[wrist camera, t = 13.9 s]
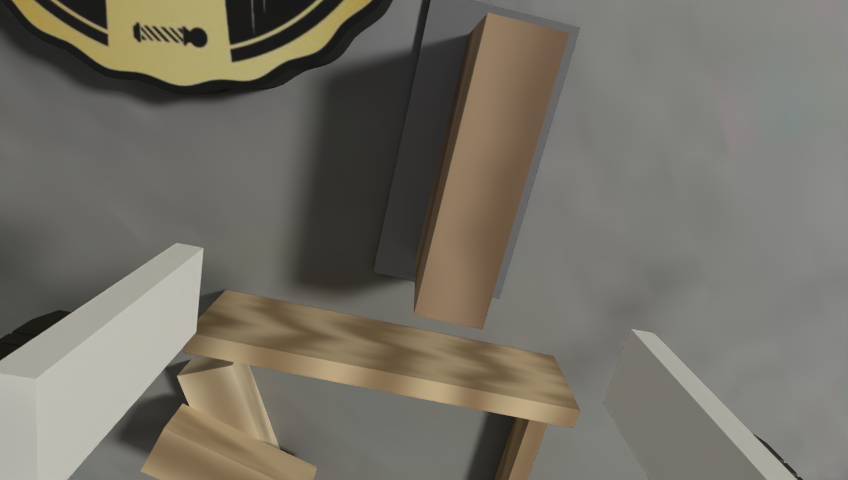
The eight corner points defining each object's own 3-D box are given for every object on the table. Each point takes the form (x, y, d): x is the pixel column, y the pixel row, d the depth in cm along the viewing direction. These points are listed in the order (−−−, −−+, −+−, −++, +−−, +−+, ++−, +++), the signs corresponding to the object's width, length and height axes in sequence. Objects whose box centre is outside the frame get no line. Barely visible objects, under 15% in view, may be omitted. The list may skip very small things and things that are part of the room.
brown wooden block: (416, 256, 37) (413, 315, 28) (468, 33, 32) (487, 12, 23) (467, 267, 37) (482, 329, 28) (526, 48, 33) (569, 32, 23)
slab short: (292, 504, 42) (283, 534, 39) (160, 443, 40) (140, 471, 37) (316, 467, 41) (309, 495, 38) (182, 403, 39) (163, 428, 36)
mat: (373, 269, 38) (373, 272, 38) (432, -8, 32) (432, -10, 32) (497, 295, 39) (499, 298, 38) (577, 28, 33) (580, 27, 32)
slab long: (253, 503, 46) (242, 531, 43) (194, 356, 41) (176, 376, 38) (300, 495, 45) (291, 523, 43) (245, 345, 41) (231, 365, 38)
